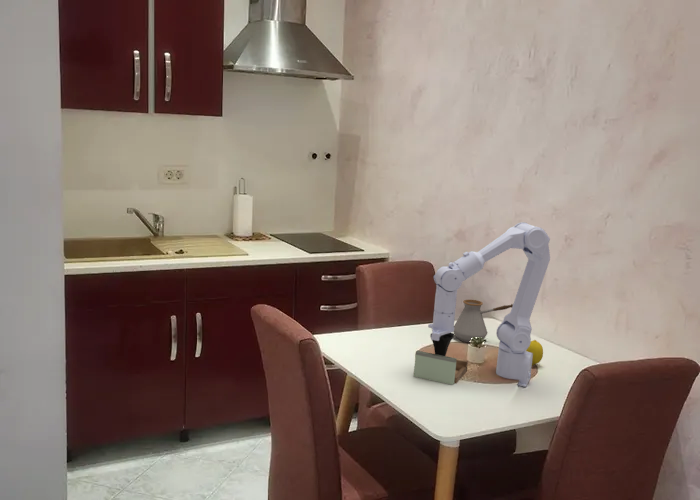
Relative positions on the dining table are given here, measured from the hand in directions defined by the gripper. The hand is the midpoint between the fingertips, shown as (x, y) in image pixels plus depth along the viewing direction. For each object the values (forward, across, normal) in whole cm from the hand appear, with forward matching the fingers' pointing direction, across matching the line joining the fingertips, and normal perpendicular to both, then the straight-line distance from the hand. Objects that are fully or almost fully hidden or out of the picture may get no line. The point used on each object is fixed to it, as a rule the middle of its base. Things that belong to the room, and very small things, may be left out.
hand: (439, 359), depth 181 cm
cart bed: (+6, -2, 0) cm, 6 cm away
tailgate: (+4, +4, 0) cm, 6 cm away
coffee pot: (+6, -42, +3) cm, 43 cm away
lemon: (+6, -28, +21) cm, 36 cm away
